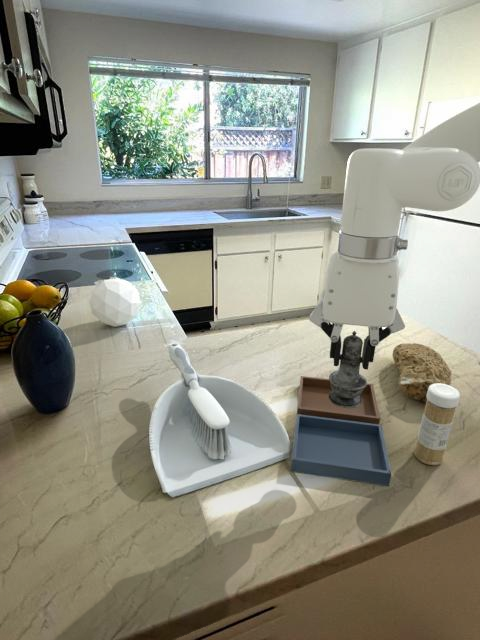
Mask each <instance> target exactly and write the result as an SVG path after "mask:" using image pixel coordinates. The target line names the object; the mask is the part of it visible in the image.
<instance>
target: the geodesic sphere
mask: <svg viewBox="0 0 480 640" xmlns="http://www.w3.org/2000/svg"><path fill="white" fill-rule="evenodd" d="M93 284H94V285H95V286H94V287H93V288H92V291H91V294H90V297H89V300H88V303H89V306H90V310H91V315H93V316H94V317H95V318H96V319H97V320H98V321H99V322H101V323H102V324H105V325H108V326H111V327H114V328H116V327H120V326H125V325H128V324H129V323H131V322H132V321H133V320H134V319H136V318H137V316H138V315H139V311H140V307H141V299H140V294H139V290H138V289H137V288H136V287H135V286H134V285H133V284H132V283H131V282H130V281H128V280H125V279H122V278H120V277H117V276H116V277H114V276H111V275H110V276H109V279H99V280H96V281H94V282H93Z"/></svg>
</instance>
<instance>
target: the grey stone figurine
mask: <svg viewBox="0 0 480 640" xmlns="http://www.w3.org/2000/svg"><path fill="white" fill-rule="evenodd" d="M357 334H358V333H357V332H356V330H353V331H352V332H351V335H350V334H349V335H347V336H345V337H344V339H343V341H342V347H341V353H340V360H339V367H338V370H335V371H333V372H331V373H330V374H329V376H328V379H329V381H330V384H331V387H332V390H333V391H331V392H330V393H329V400H330V401H331V402H332V403H333V404H335V405H337V406H339V407H343V408H356V407H358V406H360V405H361V404H362V398H361V397H360V394H361V393H362V391H363V390H364V388H365V387H366V385H367V383H368V380H367V378H366V377H365V376H363V375H362V374H361V373H360V370H361V369H360V368H361V364H362V362H363V358H362V352H363V345H364V340H363V339H362V338H361V337H360V336H358V335H357Z"/></svg>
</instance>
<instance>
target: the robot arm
mask: <svg viewBox="0 0 480 640" xmlns="http://www.w3.org/2000/svg"><path fill="white" fill-rule="evenodd" d="M479 163H480V102H478V103H476V104H474V105H473V106H470V107H468V108H467V109H465V110H463V111H461V112H459V113H457V114H455V115H454V116H452V117H450V118H447V119H446V120H445V121H443V122H441V123H440V124H438V125H436V126H435V127H433V128H432V129H430V130H428V131H427V132H425V133H424V134H423V135H421V136H420V137H418V138H416V139H415V140H414V141H412V142H411V143H409V144H408V145H406V146H405V147H404V148H402V149H399V148H379V147H377V148H375V147H374V148H373V147H370V148H369V147H368V148H358V149H356V150H353V152H351V154H350V155H349V158H348V160H347V165H346V174H345V181H344V190H343V191H344V192H343V200H342V209H341V217H340V227H339V237H338V245H337V250H334V251H332V252H331V255H330V257H329V262H328V266H327V269H326V274H325V280H324V286H323V294H322V299H321V300H320V301H319V302H318V304H317V305H316V306H315V308H314V309H313V310H312V311H311V312H310V314H309V319H308V320H309V321H310V322H311V323H313V324H314V325H315V326H316V327H318V328H320V329H321V330H322V332H323V333H325V335H326V336H327V337H328V338H329V341H330V348H329V359H333V367H340V354H341V353H342V336H341V333H342V330H343V327H344V325H347V326H358V327H368V328H367V329H368V335H366V336H365V338H364V340H363V345H362V352H361V357H362V358H363V362H362V363H361V366H362V369H364V370H369V366H370V363H373V362H374V358H375V352H376V347H378V345H379V344H380V342H382V341H383V340H385V339H387V338H388V337H389V336H390V335H392V334H395V333H398V332H400V331H402V330H404V329H405V328H406V325H405V324H406V323H404V320H403V318H402V316H401V314H400V312H399V310H398V308H397V305H398V296H399V284H400V283H399V281H400V263H399V256H397V255H396V254H397V253H398V251H402V250H404V251H406V250H407V249H408V245H409V241H408V239H403V238H401V237H399V235H398V234H399V231H400V230H399V229H400V224H401V218H402V213H403V209H404V208H409V209H418V210H423V211H429V212H447V211H452V210H455V209H458V208H460V207H462V206H463V205H465V204H466V203H468V202H469V201H470V200H471V199H472V198H473V197H474V196H475V194H476V193H477V191H478V189H479V187H480V164H479Z"/></svg>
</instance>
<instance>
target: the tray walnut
mask: <svg viewBox="0 0 480 640" xmlns="http://www.w3.org/2000/svg"><path fill="white" fill-rule="evenodd" d="M331 391H333V390H332V387H331V384H330V381H329V378H323V377H314V376H306V375H300V379H299V388H298V398H297V405H296V406H297V407H296V415H297V414H300V415H308V416H316V417H324V418H332V419H340V420H348V421H355V422H363V423H371V424H379V425H380V421H381V416H380V411H379V406H378V402H377V396H376V392H375V386H374V383H369V382H367V385H366V387H365V388H364V390H363V391H362V393H361V394H360V397H361V398H362V404H361V405H360V406H358V407H356V408H343V407H339V406H337V405H335V404H333V403H332V402H331V401H330V400H329V393H330V392H331Z"/></svg>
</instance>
